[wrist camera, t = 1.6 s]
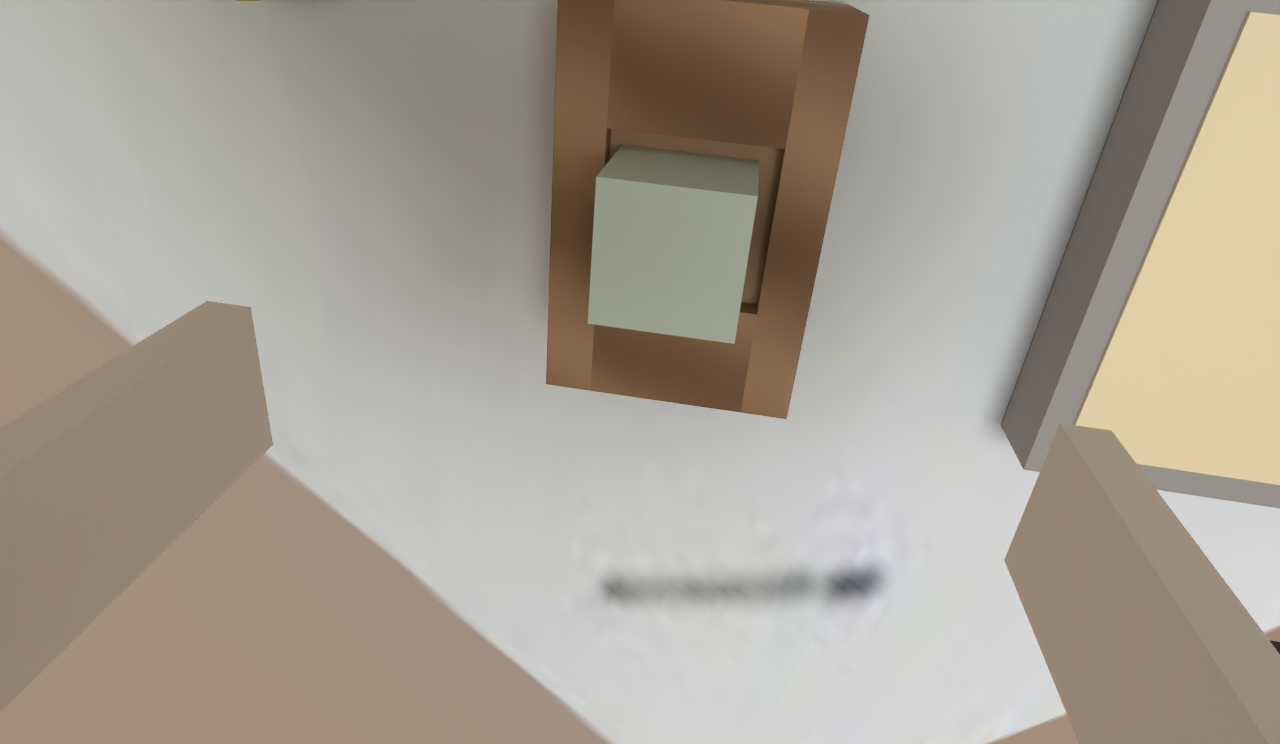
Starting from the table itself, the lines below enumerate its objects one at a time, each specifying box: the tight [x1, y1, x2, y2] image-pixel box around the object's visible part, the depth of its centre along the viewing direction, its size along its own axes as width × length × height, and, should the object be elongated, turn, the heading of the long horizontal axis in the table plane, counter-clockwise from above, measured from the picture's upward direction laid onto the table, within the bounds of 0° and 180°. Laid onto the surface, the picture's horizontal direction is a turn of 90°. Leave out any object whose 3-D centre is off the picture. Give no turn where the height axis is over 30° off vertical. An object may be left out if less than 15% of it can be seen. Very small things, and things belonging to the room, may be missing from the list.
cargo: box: [588, 144, 759, 344], centre depth 22 cm, size 4×4×4 cm
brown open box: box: [546, 0, 869, 419], centre depth 25 cm, size 12×8×6 cm, turn 175°
